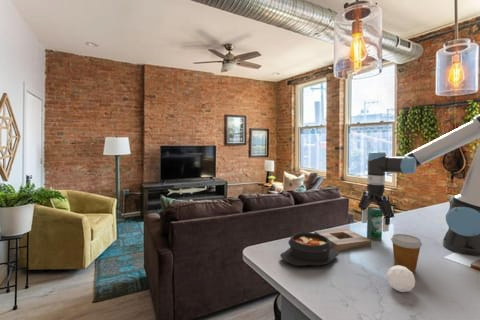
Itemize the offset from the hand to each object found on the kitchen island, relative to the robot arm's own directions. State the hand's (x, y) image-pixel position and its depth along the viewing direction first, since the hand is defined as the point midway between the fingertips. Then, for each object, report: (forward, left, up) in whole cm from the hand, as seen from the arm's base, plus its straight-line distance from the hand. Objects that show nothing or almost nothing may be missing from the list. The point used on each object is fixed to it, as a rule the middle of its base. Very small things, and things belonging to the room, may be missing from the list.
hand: (374, 226), depth 127 cm
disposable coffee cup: (-29, +13, -6) cm, 32 cm away
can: (0, 0, -6) cm, 6 cm away
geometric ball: (-39, +26, -6) cm, 47 cm away
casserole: (-11, +42, -6) cm, 44 cm away
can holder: (+1, +18, -6) cm, 19 cm away
